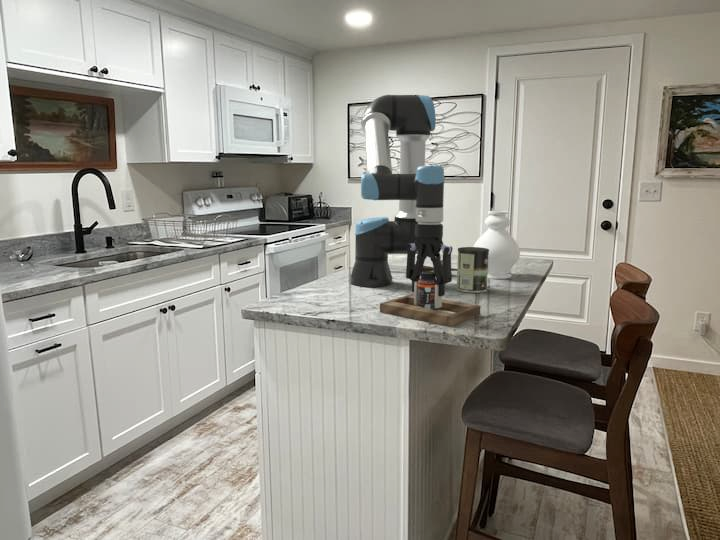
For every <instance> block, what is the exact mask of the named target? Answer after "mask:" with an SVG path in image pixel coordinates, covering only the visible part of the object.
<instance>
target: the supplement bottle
mask: <svg viewBox="0 0 720 540" xmlns="http://www.w3.org/2000/svg"><path fill="white" fill-rule="evenodd" d="M436 284H437V279H436V276H435V272H433V271H423V272H421V275H420V279H419V280H418V284H417V306H420V307H423V308H426V309H432V310H437V311H438V308H435V285H436Z"/></svg>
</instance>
